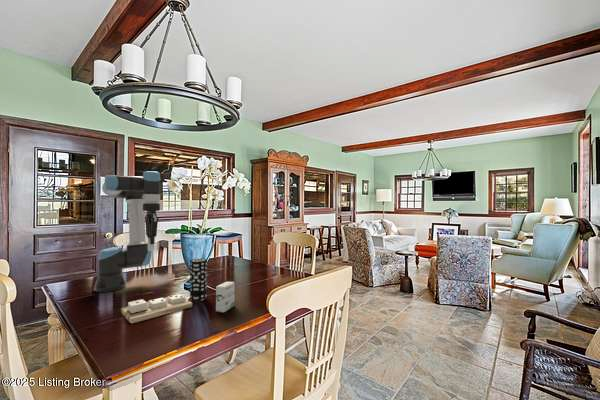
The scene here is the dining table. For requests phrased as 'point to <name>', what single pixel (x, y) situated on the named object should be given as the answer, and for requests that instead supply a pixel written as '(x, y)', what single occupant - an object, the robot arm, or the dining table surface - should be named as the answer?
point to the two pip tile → (157, 303)
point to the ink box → (225, 296)
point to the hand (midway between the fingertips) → (151, 250)
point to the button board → (155, 311)
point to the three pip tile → (176, 299)
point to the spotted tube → (198, 279)
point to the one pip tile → (137, 306)
